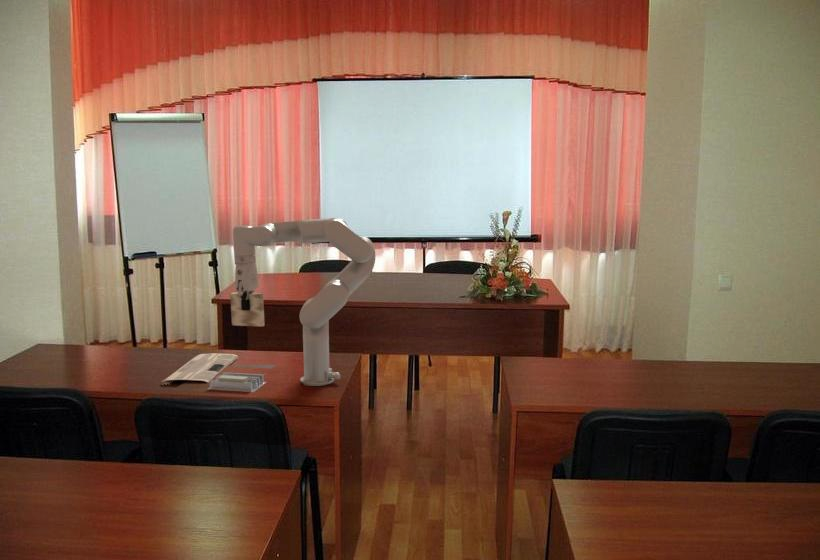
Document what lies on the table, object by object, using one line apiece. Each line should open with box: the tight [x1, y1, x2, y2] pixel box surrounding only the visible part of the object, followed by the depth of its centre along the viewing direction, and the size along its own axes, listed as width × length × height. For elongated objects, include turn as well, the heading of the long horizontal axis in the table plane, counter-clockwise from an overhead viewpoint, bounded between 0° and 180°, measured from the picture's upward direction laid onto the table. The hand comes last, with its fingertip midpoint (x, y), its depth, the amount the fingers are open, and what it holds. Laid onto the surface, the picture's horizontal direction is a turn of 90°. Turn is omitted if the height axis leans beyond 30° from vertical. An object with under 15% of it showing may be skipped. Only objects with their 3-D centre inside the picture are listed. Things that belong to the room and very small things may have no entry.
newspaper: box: [161, 352, 239, 386], centre depth 297 cm, size 37×19×3 cm, turn 176°
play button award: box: [233, 363, 275, 377], centre depth 292 cm, size 16×2×20 cm
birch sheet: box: [229, 291, 266, 327], centre depth 276 cm, size 12×2×12 cm, turn 77°
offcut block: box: [219, 374, 248, 382], centre depth 271 cm, size 10×3×4 cm, turn 78°
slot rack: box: [207, 372, 268, 393], centre depth 274 cm, size 18×12×4 cm, turn 78°
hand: (247, 309), depth 276 cm, fingers closed on birch sheet, 2 cm apart
